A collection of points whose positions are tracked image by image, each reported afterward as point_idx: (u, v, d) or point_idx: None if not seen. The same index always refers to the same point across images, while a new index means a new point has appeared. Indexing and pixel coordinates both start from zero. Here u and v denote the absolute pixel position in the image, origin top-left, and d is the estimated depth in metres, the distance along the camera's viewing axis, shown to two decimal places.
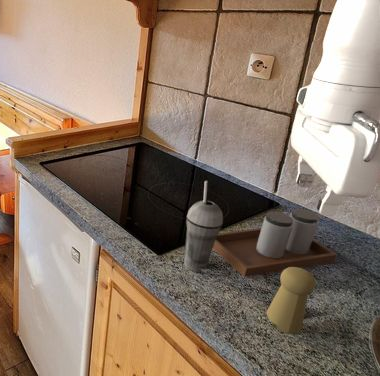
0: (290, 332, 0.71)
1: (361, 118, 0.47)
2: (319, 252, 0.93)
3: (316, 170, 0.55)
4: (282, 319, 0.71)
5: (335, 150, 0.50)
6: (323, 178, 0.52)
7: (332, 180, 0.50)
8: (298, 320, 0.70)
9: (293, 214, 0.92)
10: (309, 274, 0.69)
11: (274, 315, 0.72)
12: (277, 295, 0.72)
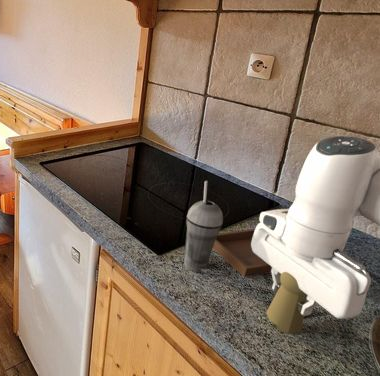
0: (290, 332, 0.71)
1: (345, 258, 0.61)
2: None
3: (301, 288, 0.67)
4: (282, 319, 0.71)
5: (324, 280, 0.63)
6: (315, 299, 0.65)
7: (330, 306, 0.62)
8: (298, 320, 0.70)
9: None
10: None
11: (274, 315, 0.72)
12: (277, 295, 0.72)
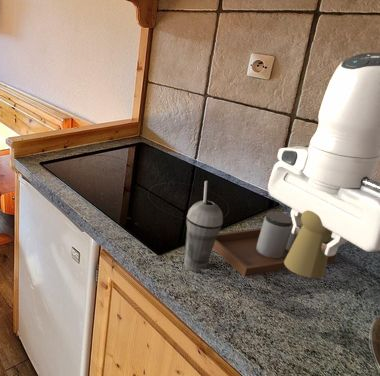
0: (312, 276, 0.66)
1: (375, 185, 0.55)
2: None
3: (326, 225, 0.62)
4: (304, 262, 0.66)
5: (352, 211, 0.58)
6: (341, 234, 0.60)
7: (358, 239, 0.57)
8: (322, 263, 0.65)
9: None
10: None
11: (295, 259, 0.67)
12: (298, 237, 0.67)
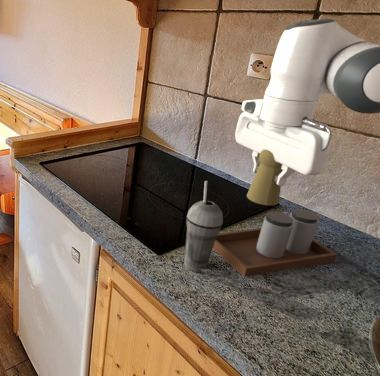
0: (268, 204, 0.82)
1: (311, 122, 0.71)
2: (319, 252, 0.93)
3: (277, 159, 0.77)
4: (261, 192, 0.81)
5: (295, 145, 0.74)
6: (287, 165, 0.75)
7: (299, 166, 0.73)
8: (275, 192, 0.81)
9: (293, 214, 0.92)
10: None
11: (254, 191, 0.82)
12: (257, 173, 0.82)
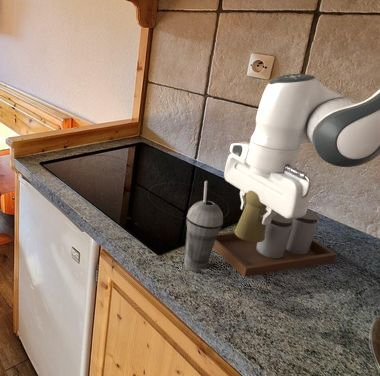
0: (254, 241, 0.87)
1: (293, 170, 0.76)
2: (319, 252, 0.93)
3: (262, 201, 0.83)
4: (247, 230, 0.87)
5: (278, 190, 0.79)
6: (271, 207, 0.80)
7: (282, 209, 0.78)
8: (260, 230, 0.86)
9: None
10: None
11: (241, 228, 0.88)
12: (243, 211, 0.88)
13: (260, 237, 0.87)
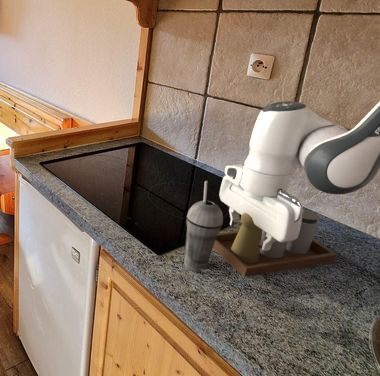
0: (248, 262, 0.89)
1: (285, 195, 0.78)
2: (319, 252, 0.93)
3: (255, 223, 0.85)
4: (242, 251, 0.89)
5: (271, 213, 0.81)
6: (264, 230, 0.83)
7: (274, 233, 0.80)
8: (255, 251, 0.88)
9: None
10: None
11: (236, 249, 0.90)
12: (238, 233, 0.90)
13: (254, 258, 0.89)
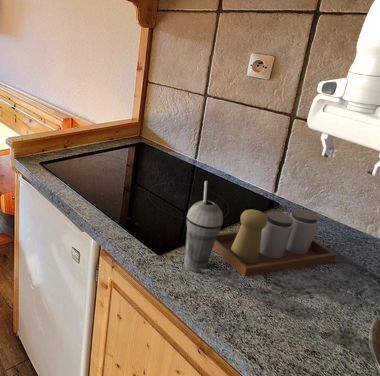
0: (248, 262, 0.89)
1: None
2: (319, 252, 0.93)
3: (364, 143, 0.71)
4: (242, 251, 0.89)
5: None
6: (378, 148, 0.69)
7: None
8: (255, 251, 0.88)
9: (293, 214, 0.92)
10: (262, 214, 0.87)
11: (236, 249, 0.90)
12: (238, 233, 0.90)
13: (254, 258, 0.89)
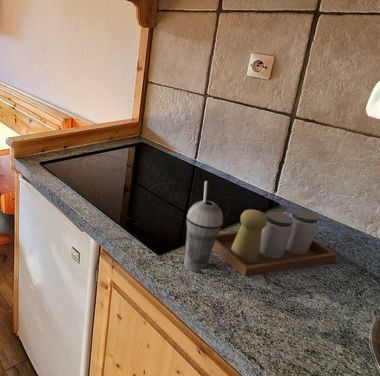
0: (248, 262, 0.89)
1: None
2: (319, 252, 0.93)
3: None
4: (242, 251, 0.89)
5: None
6: None
7: None
8: (255, 251, 0.88)
9: (293, 214, 0.92)
10: (262, 214, 0.87)
11: (236, 249, 0.90)
12: (238, 233, 0.90)
13: (254, 258, 0.89)
